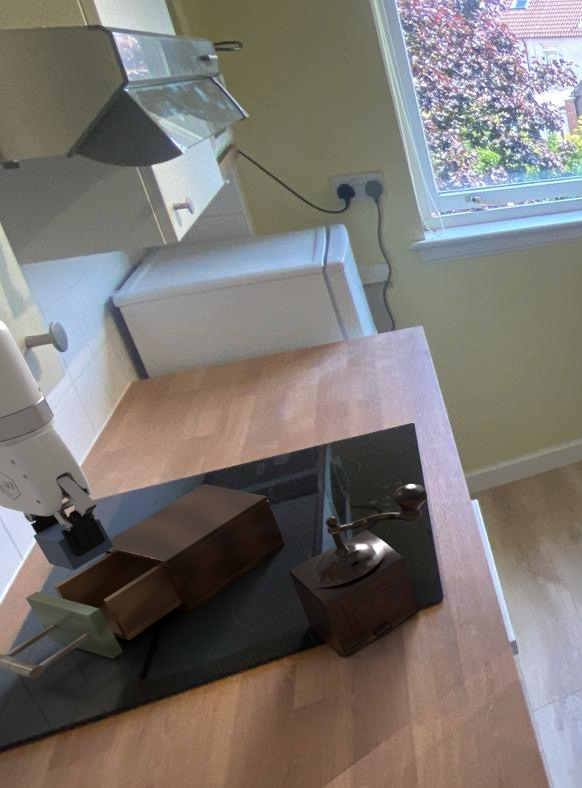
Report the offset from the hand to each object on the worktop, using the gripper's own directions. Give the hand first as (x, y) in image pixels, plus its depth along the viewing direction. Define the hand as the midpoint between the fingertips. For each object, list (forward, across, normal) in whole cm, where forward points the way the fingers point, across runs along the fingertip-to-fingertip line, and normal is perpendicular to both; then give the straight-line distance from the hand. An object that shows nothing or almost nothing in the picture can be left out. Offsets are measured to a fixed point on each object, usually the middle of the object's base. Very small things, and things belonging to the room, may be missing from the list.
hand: (75, 544), depth 92 cm
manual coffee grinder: (+15, +32, +13) cm, 37 cm away
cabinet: (+14, 0, +12) cm, 19 cm away
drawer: (+14, 0, -1) cm, 14 cm away
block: (+2, 0, 0) cm, 2 cm away
